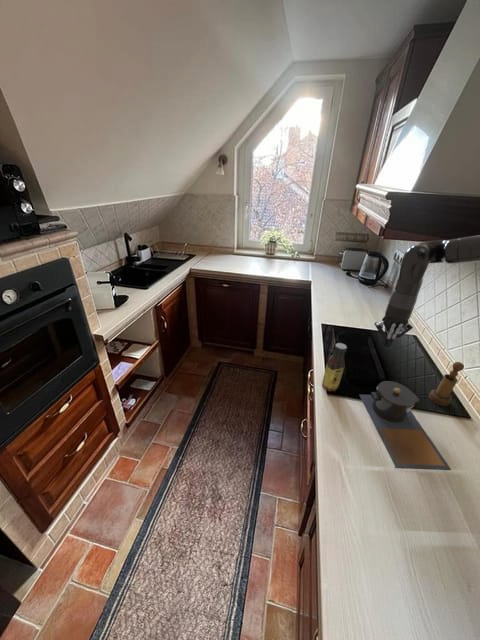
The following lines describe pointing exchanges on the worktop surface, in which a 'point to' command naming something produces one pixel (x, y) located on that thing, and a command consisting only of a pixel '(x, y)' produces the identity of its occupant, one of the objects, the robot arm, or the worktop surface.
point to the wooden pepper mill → (446, 386)
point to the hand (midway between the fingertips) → (385, 345)
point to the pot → (393, 401)
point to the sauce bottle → (334, 368)
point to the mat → (406, 441)
